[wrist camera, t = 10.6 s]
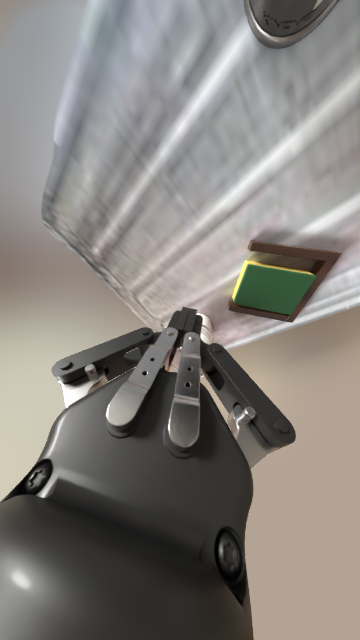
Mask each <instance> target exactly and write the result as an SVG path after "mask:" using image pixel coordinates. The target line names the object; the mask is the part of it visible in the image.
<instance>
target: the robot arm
mask: <svg viewBox="0 0 360 640" xmlns="http://www.w3.org/2000/svg"><path fill="white" fill-rule="evenodd" d="M337 1H338V0H244V6H245V11H246V16H247V19H248V23H249V25H250V28H251V30H252V32H253V34H254V35H255V37H256V38H257V39H258V40H259V41H260V42H261V43H262V44H264V45H265V46H267V47H270V48H277V49H278V48H284V47H288V46H290V45H293V44H295V43H296V42H298V41H300V40H301V39H303V38H304V37H305V36H307V35H308V34H309V33H310V32H311V31H313V30H314V29H315V28H316V27H317V26H318V25H319V24H320V22H321V21H322V20H323V19H324V18H325V17H326V16H327V14H328V13H329V12H330V11H331V9H332V8H333V7H334V5H335V4H336V2H337ZM196 314H197V310H196V309H190V308H186V307H183V308H182V311H176V312H175V313H174V314H173V316H172V318H171V320H170V322H169V325H168V327H167V328H165V329H164V330H163V331H162V332H155V333H153V331H152V330H151V329H150V328H146V327H145V328H140V329H138V330H135V331H133V332H130V333H128V334H125V335H122V336H120V337H117V338H115V339H112V340H110V341H107V342H104V343H102V344H99V345H97V346H94V347H92V348H89V349H87V350H84V351H81V352H79V353H76V354H74V355H71V356H69V357H66V358H64V359H62V360H60V361H58V362H57V363H56V364H55V365H54V366H53V368H52V373H53V375H54V376H55V377H56V378H57V381H58V382H59V383H60V385H61V386H62V389H63V394H64V400H65V405H66V409H65V410H64V411H63V412H62V413H61V414H60V415H59V416H58V418H57V419H56V421H55V422H54V424H53V426H52V428H51V430H50V433H49V436H48V439H47V442H46V444H45V447H44V449H43V451H42V453H41V455H40V457H39V459H38V461H37V462H36V464H35V465H34V467H33V468H32V469H31V471H30V472H29V473H28V474H27V475H26V476H25V477H24V479H23V480H22V481H21V482H20V483H19V484H18V485H17V486H16V487H15V488H14V489H13V490H12V491H11V492H10V493H9V494H8V495H7V496H6V497H5V498H4V499H3V500H2V501H1V502H0V640H253V627H252V616H251V605H250V596H249V587H248V579H247V570H246V563H245V543H244V542H245V529H246V522H247V516H248V513H249V509H250V506H251V503H252V497H253V479H252V474H251V470H250V469H251V468H252V467H253V466H254V465H255V464H256V463H258V462H259V461H260V460H261V459H262V458H263V457H265V456H266V455H267V454H269V453H271V452H273V451H275V450H278V449H280V448H282V447H284V446H286V445H289V444H291V443H293V442H294V441H295V438H296V434H295V430H294V428H293V426H292V424H291V423H290V422H289V420H288V419H287V418H286V417H285V416H284V415H283V414H282V412H281V411H280V410H279V409H278V408H277V407H276V406H275V405H274V404H273V402H272V401H271V400H270V399H269V398H268V397H267V396H266V395H265V394H264V393H263V391H262V390H261V389H260V388H259V387H258V386H257V384H256V383H255V382H254V381H253V380H252V379H251V378H250V377H249V375H248V374H247V373H246V372H245V371H244V370H243V369H242V368H241V367H240V365H238V363H237V362H236V361H235V360H234V359H233V358H232V356H231V355H230V354H229V353H228V352H227V351H226V350H225V349H224V347H223V346H221V345H220V344H217V343H212V344H210V345H208V344H206V343H205V342H203V341H202V339H201V337H200V336H201V329H202V323H203V318H202V316H201V315H196ZM181 344H182V345H181ZM137 347H138V348H137ZM135 348H137V349H135ZM178 348H179V349H180V348H181V349H182V352H181V357H180V362H179V368H178V372H169V370H170V367H171V365H172V362H173V360H174V358H175V355H176V352H177V349H178ZM133 349H135V350H133ZM131 350H133V351H131ZM129 351H130V352H129ZM127 352H128V353H127ZM134 367H136V368H134ZM132 368H133V369H132ZM130 369H131V370H130ZM200 369H201V370H202V372H203V374H204V376H205V377H206V379H207V380H208V382H209V383H210V385H211V386H212V388H213V389H214V391H215V393H216V394H217V396H218V397H219V399H220V401H221V402H222V404H223V405H224V407H225V408H226V410H227V411H228V413H229V416H228V424H229V427H230V428H229V427H228V425H227V423H226V422H225V420H224V418H223V416H222V414H221V413H220V411H219V409H218V407H217V406H216V404H215V402H214V400H213V398H212V397H211V395H210V393H209V391H208V390H207V389H206V388H205V386H203V384H201V383H200ZM128 370H129V371H128ZM125 372H126V373H125ZM123 373H124V374H123ZM121 374H122V375H121ZM119 375H120V376H119ZM117 376H119V377H117ZM115 377H117V378H116V379H114V378H115ZM112 379H114V380H112ZM110 380H112V381H110ZM108 381H110V382H108ZM107 382H108V383H107ZM230 429H231V430H230ZM231 431H232V432H231Z"/></svg>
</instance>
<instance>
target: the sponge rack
mask: <svg viewBox="0 0 360 640" xmlns="http://www.w3.org/2000/svg"><path fill="white" fill-rule="evenodd" d="M248 249H249V250H250V251H257V252H264V253H271V254H278V255H286V256H293V257H300V258H307V259H315V260H318V261H317V262H316V264H315V266H314V267H313V269H312V270H311V272H310V273H312V274H313V275H315V276H317V278H316V279H315V281H314V282H313V283H312V285H311V286H310V288H309V289H308V291H307V292H306V293H305V295H304V296H303V298H302V299H301V301H300V302H299V303H298V305H297V306H296V308H295V309H294V311H293V312H292V313H291V315H288V314H283V313H278V312H273V311H268V310H263V309H258V308H253V307H248V306H243V305H238V304H234V302H233V301H230V302H229V304H228V309H229V311H234V312H240V313H245V314H250V315H255V316H260V317H266V318H271V319H276V320H281V321H286V322H291V323H292V322H293V321H294V320H295V318H296V317H297V315H298V314H299V313H300V311H301V310H302V308H303V307H304V306H305V304H306V303H307V301H308V300H309V299H310V297H311V296H312V294H313V293H314V292H315V290H316V289H317V287H318V286H319V285H320V283H321V282H322V280H323V279H324V278H325V276H326V275H327V273H328V272H329V271H330V269H331V268H332V266H333V265H334V264H335V262H336V261H337V259H338V258H339V257H340V255H341V253H338V252H334V251H327V250H320V249H312V248H304V247H296V246H289V245H281V244H273V243H266V242H258V241H250V243H249V246H248Z"/></svg>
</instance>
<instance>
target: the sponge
mask: <svg viewBox="0 0 360 640" xmlns="http://www.w3.org/2000/svg"><path fill="white" fill-rule="evenodd" d="M316 278H317V276H315V275H313V274H312V273H310V272H308V271H306V270H301V269H295V268H289V267H283V266H277V265H271V264H265V263H259V262H253V261H246V260H245V263H244V265H243V268H242V271H241V274H240V276H239V279H238V282H237V285H236V287H235V290H234V293H233V295H232V297H233V302H234V304H238V305H243V306H248V307H253V308H258V309H263V310H268V311H273V312H278V313H283V314H288V315H291V313H292V312H293V311H294V309H295V308H296V306H297V305H298V303H299V302H300V301H301V299H302V298H303V296H304V295H305V293H306V292H307V291H308V289H309V288H310V286H311V285H312V283H313V282H314V281H315V279H316Z"/></svg>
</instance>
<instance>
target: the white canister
mask: <svg viewBox="0 0 360 640" xmlns="http://www.w3.org/2000/svg"><path fill="white" fill-rule="evenodd" d="M196 315H201V316H202V318H203V323H202V329H201V336H200V337H201V339H202V341H203V342H205V343H206V344H208V345H210V344H212V324H211V321H210V319H209V318H208V317H206V316H205V315H203V314H199V313H197V314H196ZM181 345H182V344H181ZM181 352H182V349H181V348H180V349H179V348H178V349H177V352H176V355H175V358H174V360H173V362H172V365H171V368H172V369H173V370H174V371H175V372H178V368H179V362H180V357H181ZM202 377H205V376H204V374H203V372H202V370H201V369H200V378H202Z"/></svg>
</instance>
